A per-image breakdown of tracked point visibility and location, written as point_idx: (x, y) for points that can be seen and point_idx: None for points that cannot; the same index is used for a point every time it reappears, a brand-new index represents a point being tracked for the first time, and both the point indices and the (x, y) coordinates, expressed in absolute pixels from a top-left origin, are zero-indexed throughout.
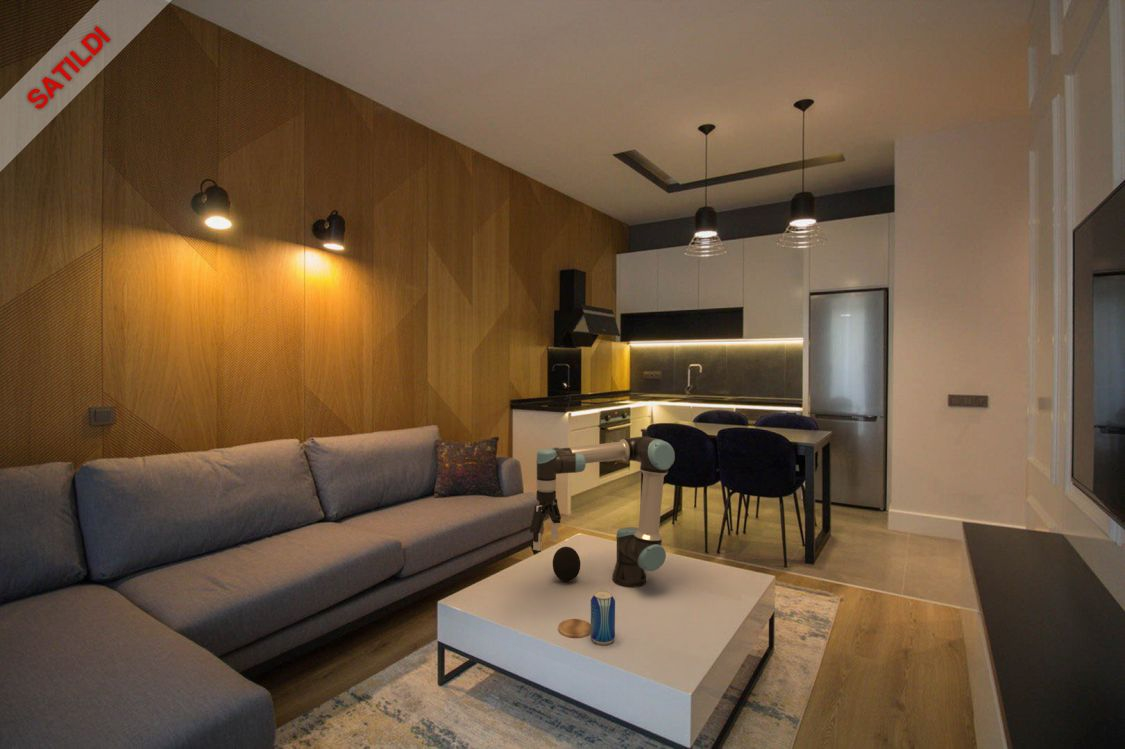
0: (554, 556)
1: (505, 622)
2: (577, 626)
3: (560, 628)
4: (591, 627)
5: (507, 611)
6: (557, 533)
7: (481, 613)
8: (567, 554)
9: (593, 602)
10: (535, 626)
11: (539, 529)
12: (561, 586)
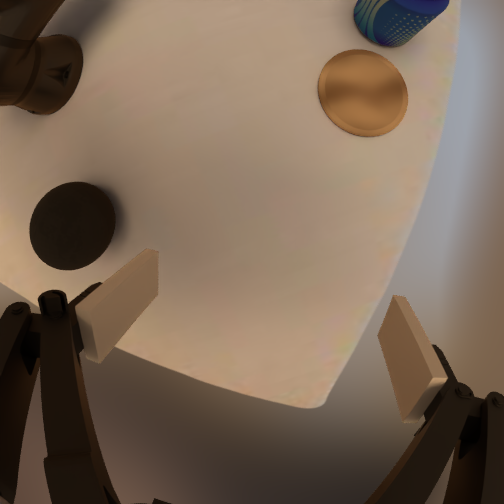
0: (76, 266)
1: (378, 277)
2: (363, 84)
3: (387, 127)
4: (412, 36)
5: (322, 294)
6: (128, 267)
7: (346, 341)
8: (63, 225)
9: (445, 6)
10: (380, 199)
11: (456, 407)
12: (132, 212)
